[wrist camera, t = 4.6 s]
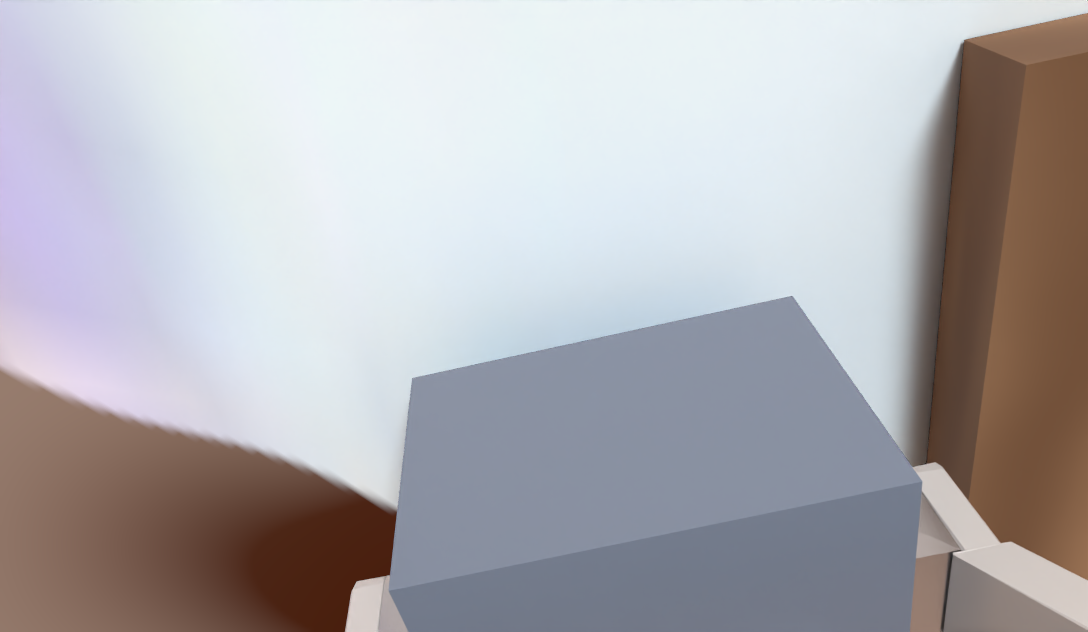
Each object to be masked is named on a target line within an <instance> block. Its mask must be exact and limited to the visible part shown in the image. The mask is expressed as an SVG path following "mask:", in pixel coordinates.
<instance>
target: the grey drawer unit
mask: <svg viewBox="0 0 1088 632" xmlns="http://www.w3.org/2000/svg"><path fill="white" fill-rule="evenodd" d="M921 493H922V480H921V479H920V477H919V476H918V474H917V473H916V472H915V470H914V469H913V467H912V466H911V464H910V463H909V462H908V460H907V459H906V457H905V456H904V454H903V453H902V452H901V450H900V449H899V447H898V446H897V444H896V443H895V442H894V440H893V439H892V437H891V436H890V434H889V433H888V432H887V430H886V429H885V427H884V426H883V424H882V423H881V422H880V420H879V419H878V417H877V416H876V415H875V413H874V412H873V410H872V409H871V407H870V406H869V405H868V403H867V402H866V400H865V399H864V397H863V396H862V395H861V393H860V392H859V390H858V389H857V387H856V386H855V385H854V383H853V382H852V380H851V379H850V377H849V376H848V375H847V373H846V372H845V370H844V369H843V367H842V366H841V365H840V363H839V362H838V360H837V359H836V357H835V356H834V355H833V353H832V352H831V350H830V349H829V348H828V346H827V345H826V343H825V342H824V340H823V339H822V338H821V336H820V335H819V333H818V332H817V330H816V329H815V328H814V326H813V325H812V323H811V322H810V320H809V319H808V318H807V316H806V315H805V313H804V312H803V310H802V309H801V308H800V306H799V305H798V303H797V302H796V300H795V299H794V298H793V296H790V297H785V298H781V299H776V300H771V301H767V302H762V303H758V304H753V305H748V306H744V307H739V308H734V309H730V310H725V311H721V312H716V313H711V314H707V315H702V316H698V317H693V318H688V319H684V320H679V321H674V322H670V323H665V324H661V325H656V326H651V327H647V328H642V329H638V330H633V331H628V332H624V333H619V334H614V335H610V336H605V337H601V338H596V339H591V340H587V341H582V342H577V343H573V344H568V345H564V346H559V347H554V348H550V349H545V350H541V351H536V352H531V353H527V354H522V355H517V356H513V357H508V358H504V359H499V360H494V361H490V362H485V363H480V364H476V365H471V366H467V367H462V368H457V369H453V370H448V371H444V372H439V373H434V374H430V375H425V376H420V377H416V378H412V385H411V394H410V403H409V412H408V420H407V429H406V438H405V447H404V456H403V465H402V474H401V483H400V492H399V501H398V510H397V518H396V529H395V536H394V546H393V554H392V563H391V572H390V581H389V590H388V591H389V593H390V595H391V597H392V599H393V601H394V603H395V605H396V608H397V610H398V612H399V614H400V616H401V618H402V620H403V622H404V624H405V626H406V628H407V630H408V632H910V623H911V611H912V599H913V587H914V576H915V564H916V552H917V540H918V528H919V517H920V505H921Z"/></svg>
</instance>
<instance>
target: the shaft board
mask: <svg viewBox="0 0 1088 632" xmlns="http://www.w3.org/2000/svg"><path fill="white" fill-rule="evenodd" d="M934 462H936V463H937V464H939V465H941V466H942V467H943V468H944V469H945V471H946V472H947V473H948V475H949V476H950V477H951V479H952V480H953V481H954V483H955V484H956V485H957V487H958V488H959V489H960V490H961V492H962V493H963V494H964V496H965V497H966V498H967V500H968V501H969V502H970V504H971V505H972V506H973V507H974V509H975V510H976V511H977V513H978V514H979V515H980V517H981V518H982V519H983V521H984V522H985V523H986V524H987V526H988V527H989V528H990V530H991V531H992V532H993V534H994V535H995V536H996V538H997V539H998V540H999V542H1000V543H1005V542H1013V543H1015V544H1017V545H1019V546H1021V547H1023V548H1025V549H1027V550H1029V551H1031V552H1033V553H1035V554H1037V555H1039V556H1041V557H1043V558H1044V559H1046V560H1048V561H1050V562H1052V563H1054V564H1056V565H1058V566H1060V567H1062V568H1064V569H1066V570H1068V571H1070V572H1072V573H1074V574H1076V575H1078V576H1080V577H1082V578H1084V579H1086V580H1088V13H1086V14H1082V15H1077V16H1073V17H1068V18H1063V19H1059V20H1054V21H1049V22H1045V23H1040V24H1036V25H1031V26H1026V27H1022V28H1017V29H1012V30H1008V31H1003V32H998V33H994V34H989V35H985V36H980V37H975V38H971V39H966V40H964V49H963V61H962V72H961V83H960V94H959V106H958V117H957V128H956V139H955V151H954V162H953V173H952V184H951V196H950V207H949V218H948V229H947V241H946V252H945V263H944V274H943V286H942V297H941V308H940V319H939V331H938V342H937V353H936V364H935V376H934V387H933V398H932V409H931V421H930V432H929V443H928V454H927V464H929V463H934Z"/></svg>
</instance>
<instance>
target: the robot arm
mask: <svg viewBox="0 0 1088 632" xmlns="http://www.w3.org/2000/svg"><path fill="white" fill-rule="evenodd" d="M913 469H914V470H915V472H916V473H917V474H918V476H919V477H920V479H921V480H922V493H921V505H920V517H919V528H918V540H917V552H916V564H915V576H914V587H913V599H912V611H911V623H910V632H1088V580H1086V579H1084V578H1082V577H1080V576H1078V575H1076V574H1074V573H1072V572H1070V571H1068V570H1066V569H1064V568H1062V567H1060V566H1058V565H1056V564H1054V563H1052V562H1050V561H1048V560H1046V559H1044V558H1043V557H1041V556H1039V555H1037V554H1035V553H1033V552H1031V551H1029V550H1027V549H1025V548H1023V547H1021V546H1019V545H1017V544H1015V543H1013V542H1005V543H1000V542H999V540H998V539H997V538H996V536H995V535H994V534H993V532H992V531H991V530H990V528H989V527H988V526H987V524H986V523H985V522H984V521H983V519H982V518H981V517H980V515H979V514H978V513H977V511H976V510H975V509H974V507H973V506H972V505H971V504H970V502H969V501H968V500H967V498H966V497H965V496H964V494H963V493H962V492H961V490H960V489H959V488H958V487H957V485H956V484H955V483H954V481H953V480H952V479H951V477H950V476H949V475H948V473H947V472H946V471H945V469H944V468H943V467H942V466H941V465H939V464H937V463H936V462H934V463H929V464H924V465H920V466H915V467H913ZM389 581H390V575H388V576H384V577H379V578H373V579H368V580H363V581H357V582H356V584H355V586H354V588H353V590H352V593H351V599H350V605H349V611H348V617H347V623H346V629H345V632H408V630H407V628H406V626H405V624H404V622H403V620H402V618H401V616H400V614H399V612H398V610H397V608H396V605H395V603H394V601H393V599H392V597H391V595H390V593H389V591H388V590H389Z"/></svg>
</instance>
